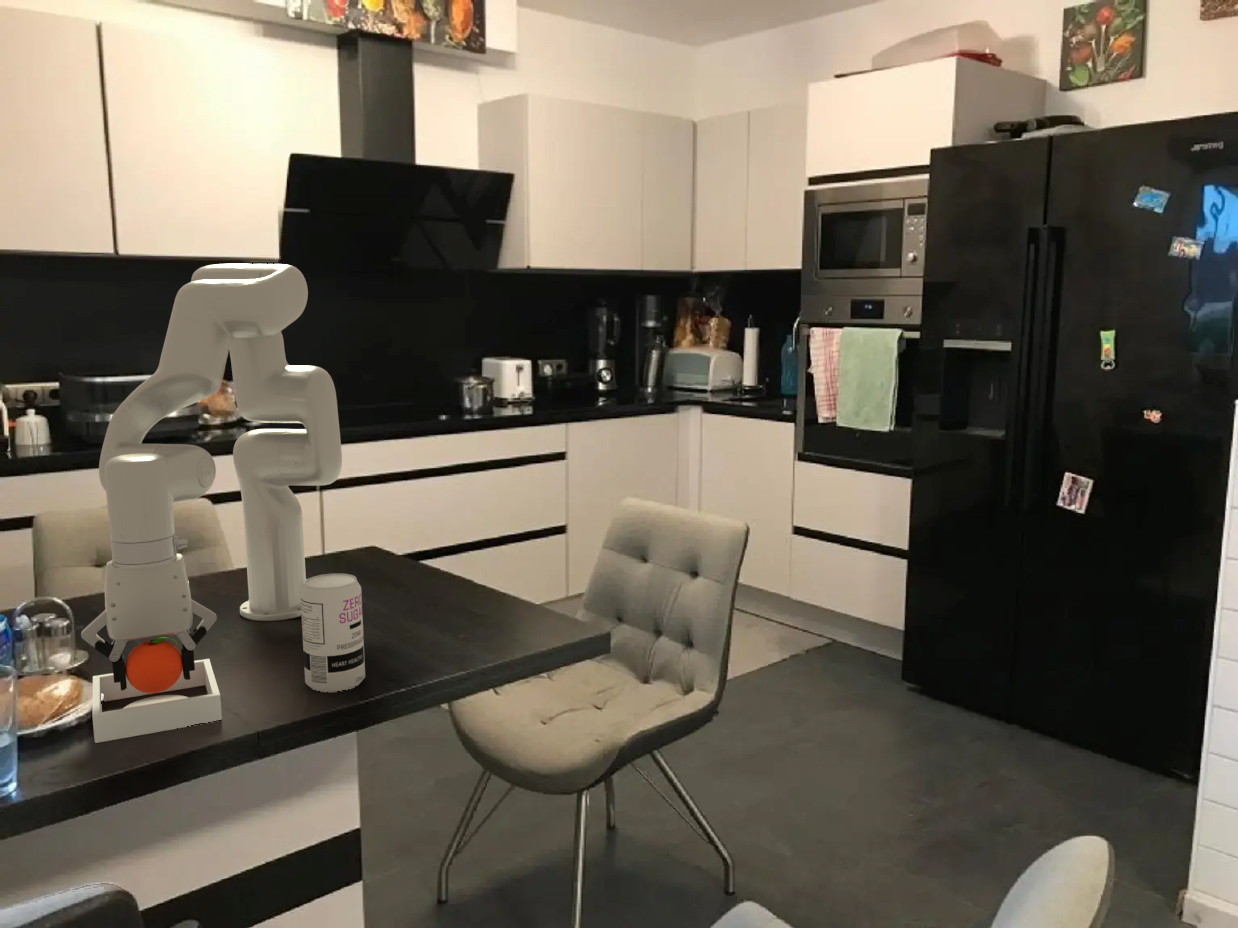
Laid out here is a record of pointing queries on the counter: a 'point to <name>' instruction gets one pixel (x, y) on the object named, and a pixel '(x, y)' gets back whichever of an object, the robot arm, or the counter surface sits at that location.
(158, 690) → the clementine
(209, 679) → the hollow rectangular sleeve
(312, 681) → the supplement can
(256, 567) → the robot arm
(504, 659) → the counter surface
